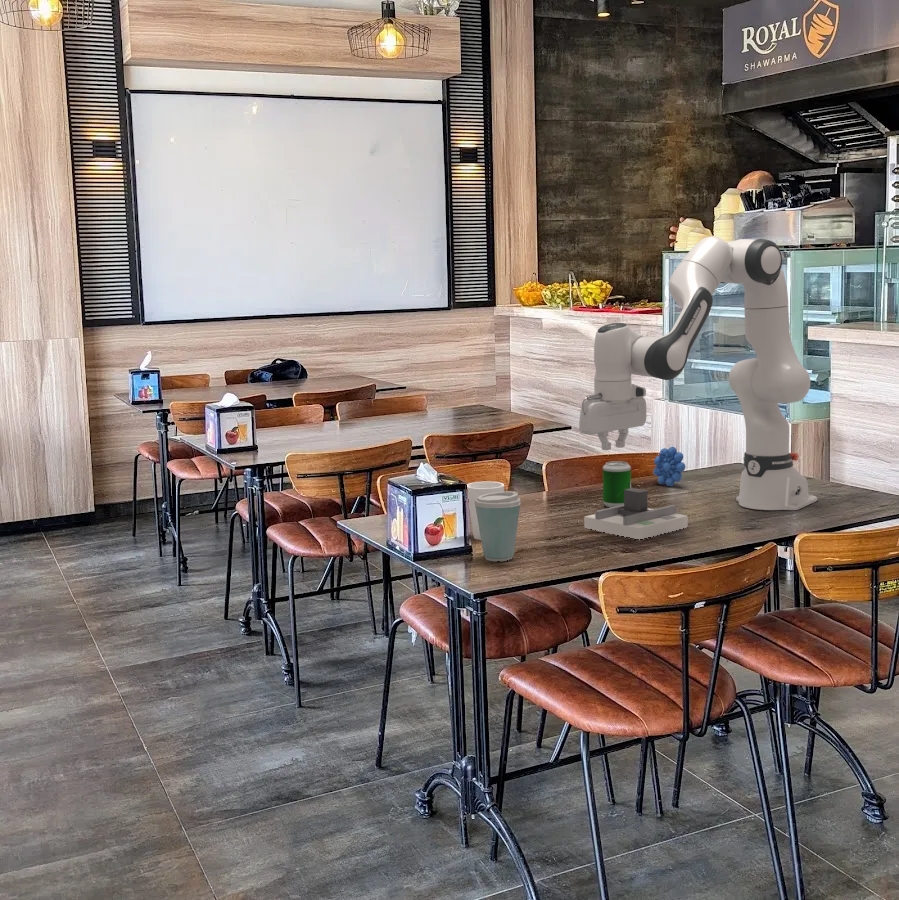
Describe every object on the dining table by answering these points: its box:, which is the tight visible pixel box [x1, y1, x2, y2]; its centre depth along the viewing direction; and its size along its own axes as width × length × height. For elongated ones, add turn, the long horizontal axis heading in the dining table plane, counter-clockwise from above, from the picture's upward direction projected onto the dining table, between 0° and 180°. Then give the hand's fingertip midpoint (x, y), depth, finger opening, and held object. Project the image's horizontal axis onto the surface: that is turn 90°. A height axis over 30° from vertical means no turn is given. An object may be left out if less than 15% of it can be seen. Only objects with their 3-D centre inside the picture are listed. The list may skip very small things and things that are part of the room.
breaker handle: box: [618, 487, 649, 516], centre depth 276 cm, size 5×7×6 cm
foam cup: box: [466, 480, 505, 541], centre depth 271 cm, size 10×9×13 cm
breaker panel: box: [583, 499, 689, 541], centre depth 276 cm, size 18×18×5 cm
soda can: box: [602, 460, 632, 508], centre depth 300 cm, size 8×8×12 cm
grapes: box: [652, 446, 687, 487], centre depth 325 cm, size 12×7×12 cm, turn 38°
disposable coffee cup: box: [474, 490, 522, 562], centre depth 251 cm, size 11×11×15 cm
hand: (613, 448), depth 268 cm, fingers open, 3 cm apart
